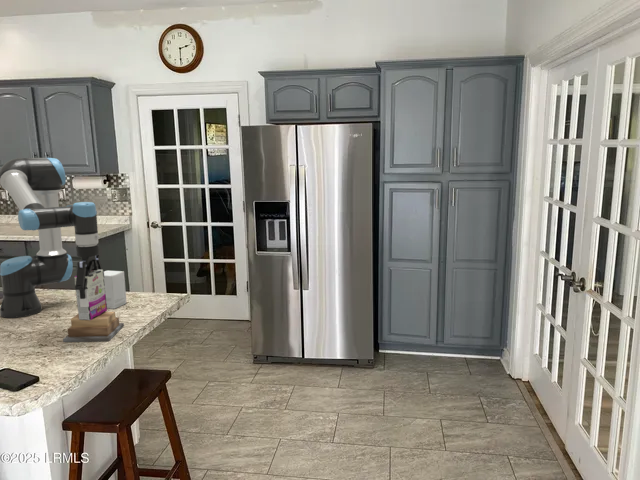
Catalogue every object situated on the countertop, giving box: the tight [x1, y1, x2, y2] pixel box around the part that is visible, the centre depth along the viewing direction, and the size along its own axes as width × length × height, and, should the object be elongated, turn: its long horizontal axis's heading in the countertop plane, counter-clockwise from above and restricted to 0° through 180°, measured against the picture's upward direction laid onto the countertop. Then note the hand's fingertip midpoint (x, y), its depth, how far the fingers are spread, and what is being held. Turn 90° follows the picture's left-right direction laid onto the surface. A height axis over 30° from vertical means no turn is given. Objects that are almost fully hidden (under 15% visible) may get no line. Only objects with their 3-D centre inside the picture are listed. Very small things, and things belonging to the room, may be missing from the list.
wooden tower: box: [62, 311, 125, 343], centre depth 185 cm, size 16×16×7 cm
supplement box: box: [103, 270, 127, 310], centre depth 219 cm, size 9×9×15 cm
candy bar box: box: [73, 269, 108, 320], centre depth 183 cm, size 11×5×16 cm, turn 172°
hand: (92, 301), depth 184 cm, fingers open, 13 cm apart
